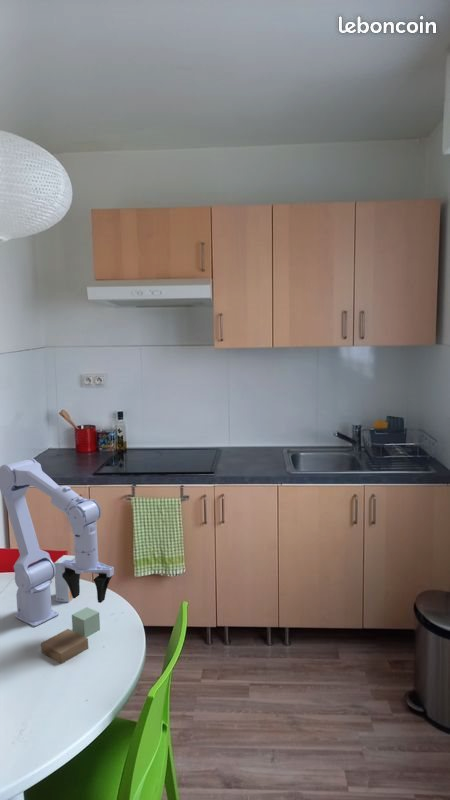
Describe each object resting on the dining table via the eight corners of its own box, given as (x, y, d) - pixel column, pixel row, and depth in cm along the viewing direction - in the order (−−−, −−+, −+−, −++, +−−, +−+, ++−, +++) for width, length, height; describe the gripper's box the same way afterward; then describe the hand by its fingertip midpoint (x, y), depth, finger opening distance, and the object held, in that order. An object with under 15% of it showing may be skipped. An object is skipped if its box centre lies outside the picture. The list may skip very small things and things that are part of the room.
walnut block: (41, 654, 139) (40, 643, 139) (68, 639, 146) (67, 628, 145) (61, 665, 135) (61, 653, 134) (88, 649, 141) (87, 638, 140)
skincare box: (69, 602, 165) (66, 563, 163) (55, 601, 166) (53, 562, 164) (78, 593, 171) (76, 555, 169) (65, 592, 171) (63, 554, 170)
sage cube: (72, 632, 148) (71, 614, 148) (87, 624, 152) (86, 607, 152) (84, 638, 145) (83, 620, 145) (100, 630, 149) (99, 612, 149)
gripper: (52, 550, 142) (55, 601, 144) (102, 557, 137) (104, 610, 139) (69, 540, 149) (71, 589, 151) (117, 547, 144) (119, 597, 146)
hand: (88, 598), depth 145 cm, fingers open, 7 cm apart
